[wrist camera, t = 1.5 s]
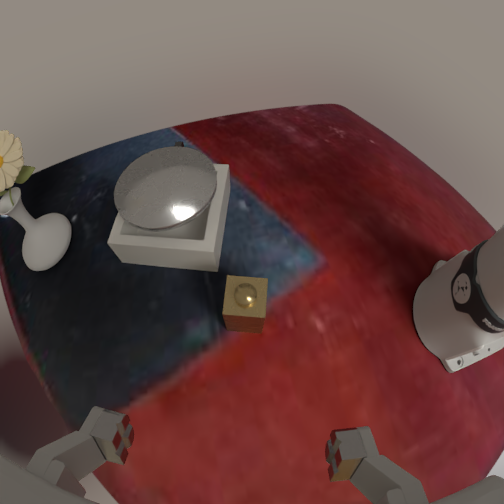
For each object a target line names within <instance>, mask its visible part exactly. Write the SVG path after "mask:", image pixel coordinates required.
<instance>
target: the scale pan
mask: <svg viewBox="0 0 504 504" xmlns="http://www.w3.org/2000/svg"><path fill="white" fill-rule="evenodd" d="M216 189H217V176H216V171H215V167H214V165H213V163H212V162H211V160H210V159H209V158H208V157H207V156H205V155H204V154H203V153H201V152H199V151H197V150H194V149H191V148H187V147H184V145H183V142H176V143H175V146H174V147H165V148H160V149H157V150H154V151H151V152H149V153H146V154H144V155H143V156H141V157H139V158H138V159H136V160H135V161H134V162H132V163H131V164H130V165H129V166H128V167H127V168H126V169H125V170H124V171H123V173H122V174H121V176H120V177H119V179H118V181H117V184H116V186H115V191H114V202H115V205H116V208H117V210H118V212H119V214H120V215H121V217H122V218H123V219H124V220H125V221H126V222H127V223H128V224H129V225H131V226H133V227H135V228H137V229H140V230H143V231H150V232H160V231H167V230H172V229H175V228H178V227H181V226H183V225H185V224H187V223H189V222H191V221H192V220H194V219H195V218H197V217H198V216H199V215H200V214H201V213H203V212H204V211H205V209H206V208H207V207H208V206H209V204H210V203H211V201H212V200H213V198H214V195H215V192H216Z"/></svg>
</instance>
